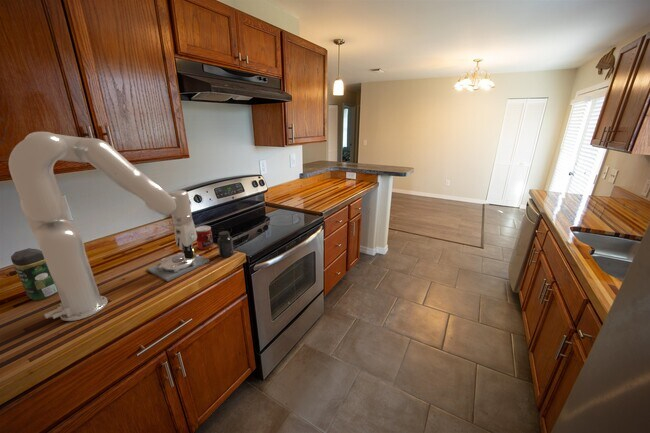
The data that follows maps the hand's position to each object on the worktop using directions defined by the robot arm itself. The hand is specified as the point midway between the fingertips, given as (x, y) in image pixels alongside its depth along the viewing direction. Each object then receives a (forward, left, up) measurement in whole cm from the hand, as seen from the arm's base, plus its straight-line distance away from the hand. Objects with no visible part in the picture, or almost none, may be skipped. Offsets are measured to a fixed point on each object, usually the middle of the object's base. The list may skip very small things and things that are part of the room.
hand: (189, 257), depth 119 cm
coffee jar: (-42, +29, -5) cm, 52 cm away
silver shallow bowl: (-2, +6, -4) cm, 7 cm away
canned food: (+17, +13, -5) cm, 22 cm away
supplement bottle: (+17, -4, -5) cm, 18 cm away
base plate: (-2, +6, -5) cm, 8 cm away
